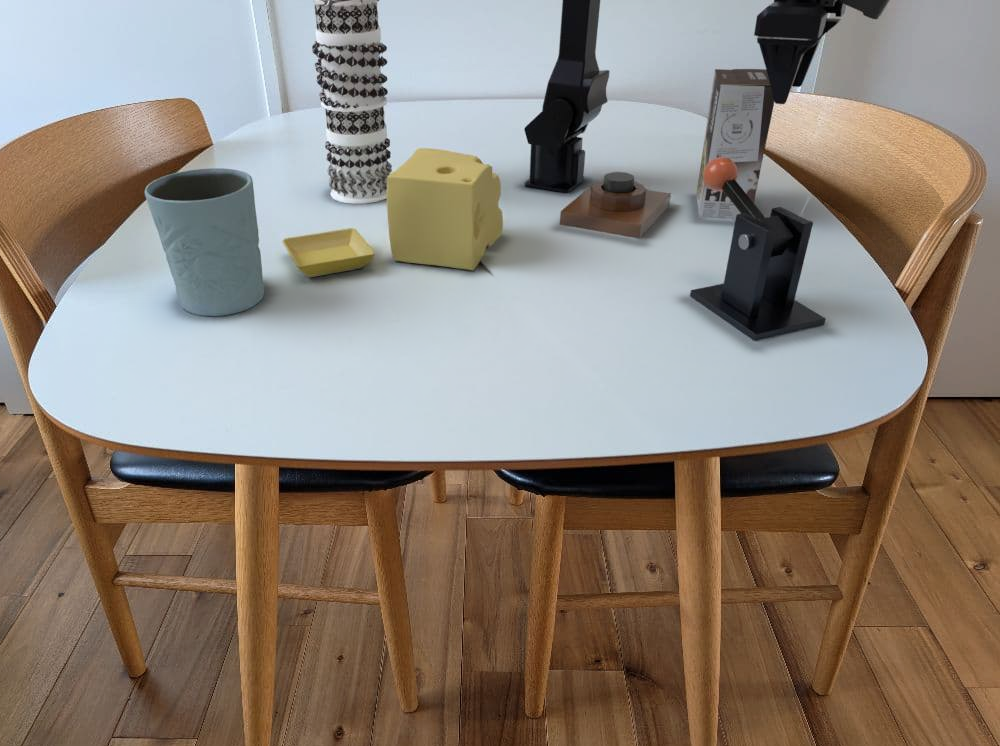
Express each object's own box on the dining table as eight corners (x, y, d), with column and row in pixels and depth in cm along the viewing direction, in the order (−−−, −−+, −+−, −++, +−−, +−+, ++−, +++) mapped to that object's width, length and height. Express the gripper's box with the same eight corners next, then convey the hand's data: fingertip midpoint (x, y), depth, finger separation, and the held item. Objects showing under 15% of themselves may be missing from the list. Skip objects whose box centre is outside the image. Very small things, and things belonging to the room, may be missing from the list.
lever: (692, 179, 80) (704, 152, 77) (719, 174, 81) (731, 148, 78) (756, 263, 74) (771, 237, 71) (784, 257, 75) (801, 231, 72)
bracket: (688, 300, 81) (704, 206, 75) (754, 287, 83) (773, 195, 78) (753, 346, 73) (775, 244, 68) (823, 329, 75) (849, 230, 70)
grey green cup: (219, 328, 77) (195, 208, 71) (149, 304, 82) (119, 189, 75) (291, 289, 84) (274, 176, 78) (222, 269, 89) (201, 160, 82)
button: (598, 193, 97) (600, 178, 96) (609, 184, 100) (610, 170, 99) (627, 197, 96) (629, 183, 95) (637, 188, 98) (638, 174, 97)
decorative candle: (330, 207, 105) (307, -7, 91) (325, 184, 112) (303, -17, 98) (399, 201, 106) (387, -10, 92) (390, 179, 114) (377, -19, 100)
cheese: (503, 238, 95) (504, 153, 89) (474, 275, 87) (474, 184, 81) (421, 228, 98) (417, 146, 92) (386, 263, 90) (379, 174, 84)
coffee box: (751, 224, 98) (779, 84, 89) (697, 221, 99) (719, 83, 90) (745, 199, 105) (770, 67, 96) (694, 196, 106) (714, 66, 97)
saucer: (283, 255, 92) (280, 238, 91) (356, 243, 94) (354, 226, 93) (299, 285, 85) (297, 267, 84) (377, 271, 88) (376, 253, 87)
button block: (559, 228, 97) (561, 196, 95) (594, 198, 106) (596, 168, 104) (639, 242, 93) (643, 209, 91) (668, 210, 102) (673, 179, 100)
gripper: (894, -57, 72) (853, 121, 81) (912, -71, 86) (875, 83, 94) (767, -58, 77) (741, 111, 86) (803, -70, 91) (777, 76, 99)
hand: (788, 94), depth 91 cm, fingers open, 9 cm apart
